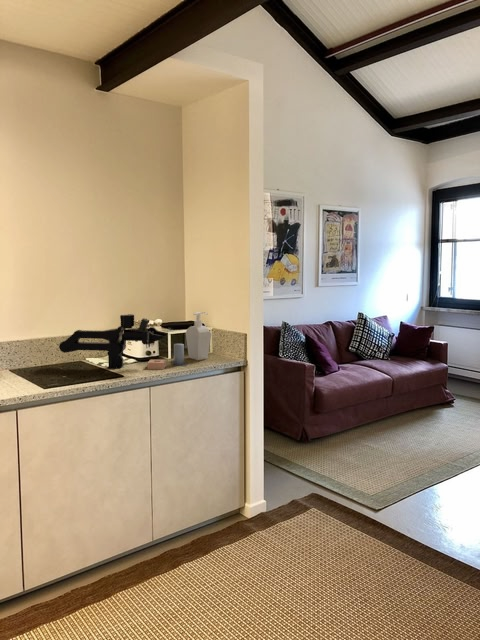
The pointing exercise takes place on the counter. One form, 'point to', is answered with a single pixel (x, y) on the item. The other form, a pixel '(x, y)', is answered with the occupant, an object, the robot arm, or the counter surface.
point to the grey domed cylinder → (178, 354)
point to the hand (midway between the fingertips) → (165, 335)
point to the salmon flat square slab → (156, 364)
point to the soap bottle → (198, 339)
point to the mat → (178, 365)
